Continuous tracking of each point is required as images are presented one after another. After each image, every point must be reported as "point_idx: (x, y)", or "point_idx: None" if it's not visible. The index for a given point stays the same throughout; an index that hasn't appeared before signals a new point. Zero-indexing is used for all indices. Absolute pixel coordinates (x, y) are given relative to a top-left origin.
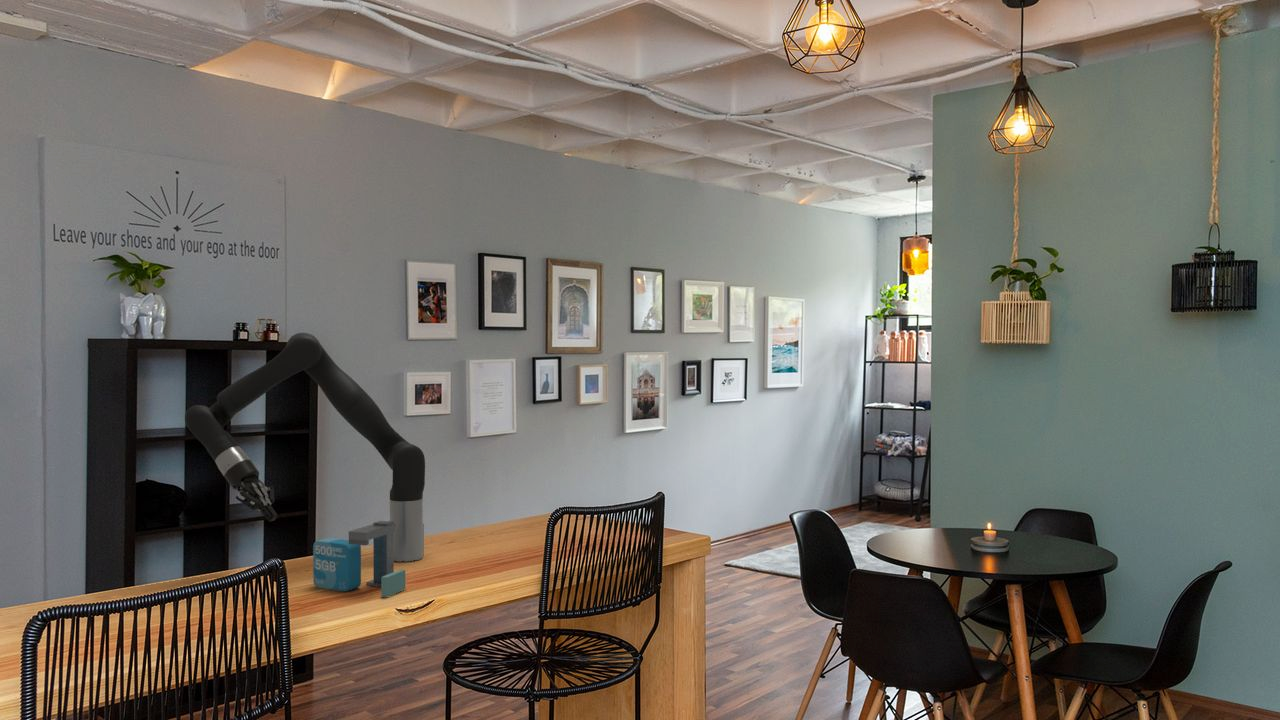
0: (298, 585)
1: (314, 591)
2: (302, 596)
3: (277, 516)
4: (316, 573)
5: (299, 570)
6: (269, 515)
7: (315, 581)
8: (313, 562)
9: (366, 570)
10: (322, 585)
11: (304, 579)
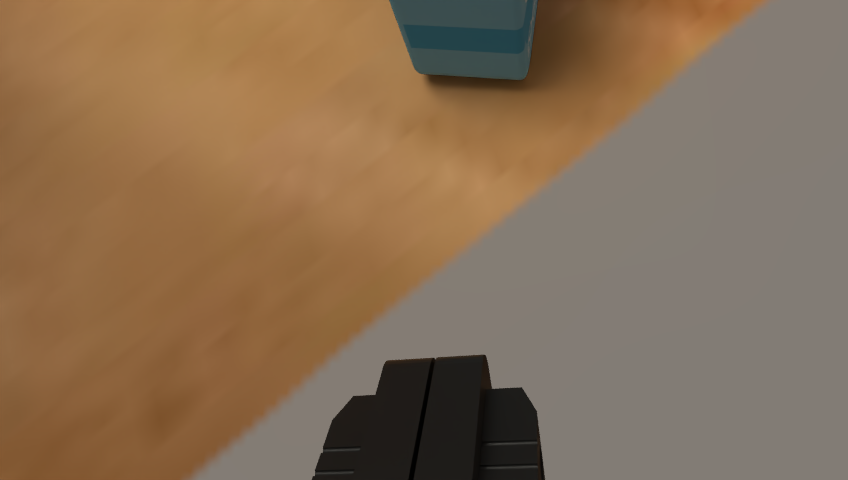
0: (522, 201)
1: (606, 21)
2: (730, 6)
3: (393, 361)
4: (527, 20)
5: (178, 469)
6: (533, 417)
7: (527, 56)
8: (521, 3)
9: (95, 73)
10: (535, 11)
11: (380, 269)
